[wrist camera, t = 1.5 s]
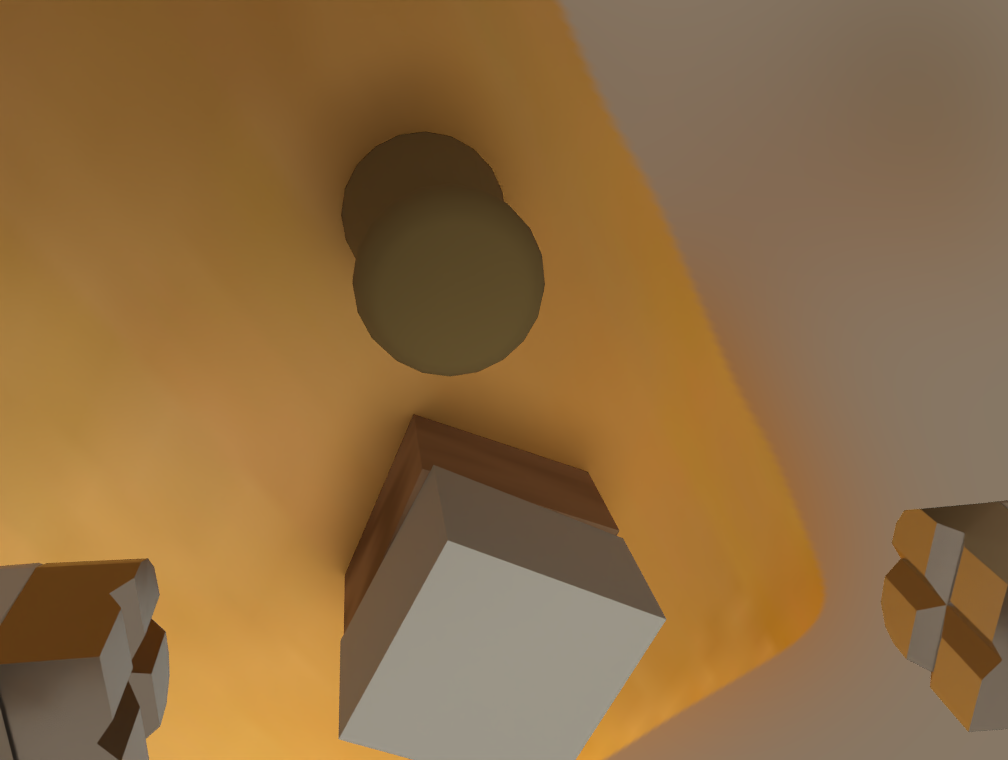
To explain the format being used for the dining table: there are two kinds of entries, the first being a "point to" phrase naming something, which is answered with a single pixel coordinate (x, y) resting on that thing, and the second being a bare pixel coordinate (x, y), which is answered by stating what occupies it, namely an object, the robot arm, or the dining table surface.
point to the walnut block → (477, 462)
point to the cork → (439, 256)
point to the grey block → (492, 630)
